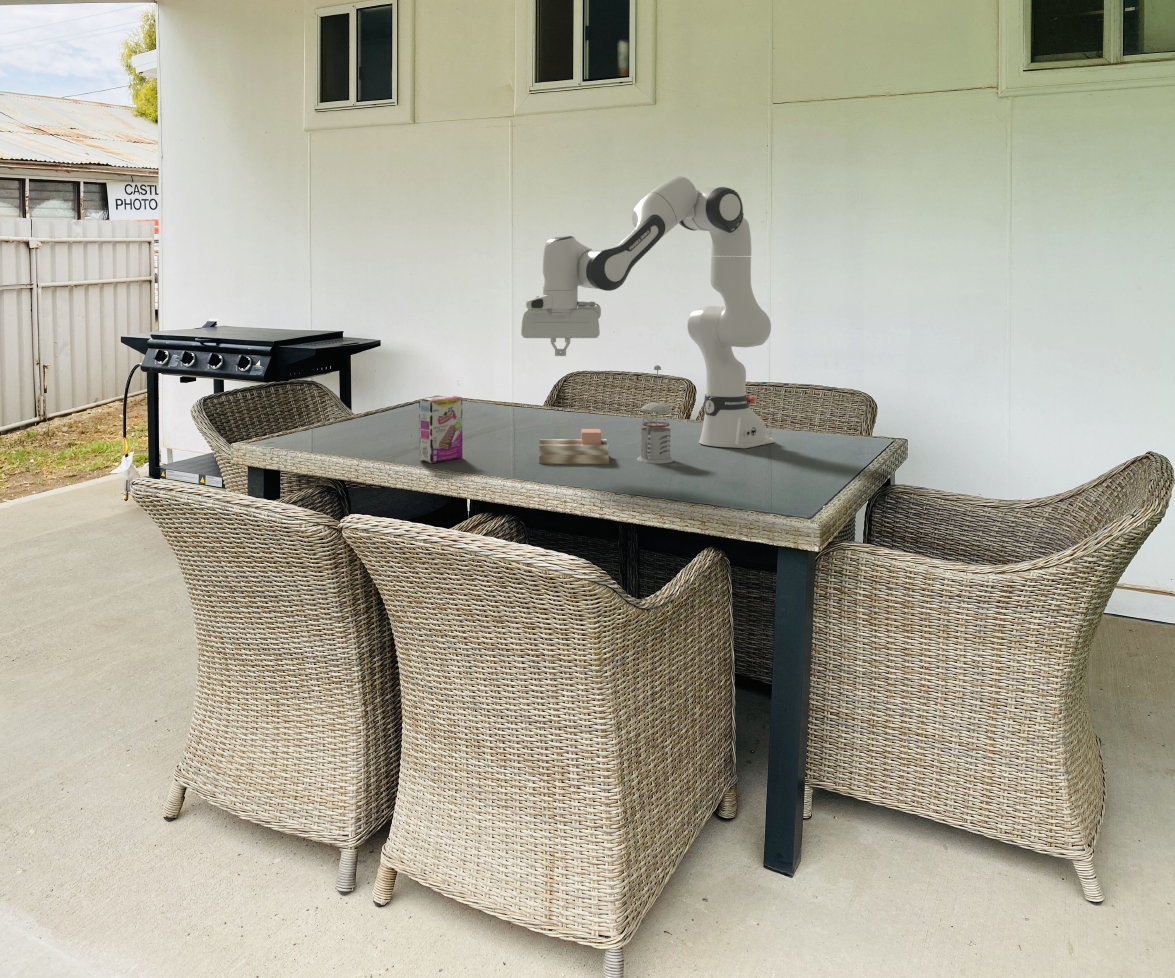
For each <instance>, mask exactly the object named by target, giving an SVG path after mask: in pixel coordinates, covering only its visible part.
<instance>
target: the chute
mask: <svg viewBox="0 0 1175 978" xmlns="http://www.w3.org/2000/svg"><path fill="white" fill-rule="evenodd" d="M538 441H539V447H538V448H539V449H538V452H539V454H538V460H539V461H538V462H539V464H542V465H543V464H544V465H545V464H555V465H556V464H563V465H564V464H565V465H566V464H568V465H569V464H576V465H577V464H580V465H581V464H590V465H591V464H592V465H593V464H594V465H597V464H603V465H604V464H605V465H607V464H608V465H609V463H610V460H609V459H610V455H609V453H610V452H609V448H610V447H609V444H608V439H607V438H603V439H602V438H601V445H581V438H579V439H578V438H575V439H573V438H563V439H562V438H557V439H555V438H554V439H553V438H549V439H548V438H547V439H544V438H540V439H539V440H538Z"/></svg>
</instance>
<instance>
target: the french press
mask: <svg viewBox="0 0 1175 978" xmlns="http://www.w3.org/2000/svg"><path fill="white" fill-rule="evenodd" d="M653 370H655V371H656V388H658V384H659V383H658V382H659V381H658V379H659V378H658V377H659V371H661V370H662V367H661V366H660V365H658V364H656V365H655V366H654V367H653ZM655 394H656V396H655V397H656V399H655V401H654V402H650V403H647V404H645V405H643V406H642V407H641V408H640V409H641V411H642V412H645V413H646V412H647V413H655V421H653V419H654V416H653V415H651V416H650V417H649V419H648V415H647V414H646V415H645V416H644V417H643V418H642V423H641V426H640V427H641V428H640V430H641V431H640V435H641V436H640V456H638V457H637V458H636V460H637V462H640V463H645V464H669V463H673V462H674V459H673V458H672V457H671V453H670V452H671V437H672V436H671V434H672V433H671V431H672V430H671V428H668V427H669V426H670V423H669V422H667V421H658V420H657V418H658V417H657V416H658V413H665V412H666V413H667V412H671V411H672V410H673V408H672V407H671V406H669V405H668V404H666V403H663V402H659V401H658V392H656V393H655ZM645 418H646V419H645ZM644 420H646V421H644ZM643 426H644V427H643ZM649 436H650V437H649Z"/></svg>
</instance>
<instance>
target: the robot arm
mask: <svg viewBox="0 0 1175 978" xmlns="http://www.w3.org/2000/svg"><path fill="white" fill-rule="evenodd" d="M631 221H632V224H633V227H634V229H633V230H632V231H631V232H630V233H629V234H628V235H627V236H626V237H625V238H624V239H623V240H621V242H619V244H617V245H616V246H614V247H611V248H606V249H592V248H591V247H588V246H586V245H584V244H583V243H581V242H580V241H578V240H577V239H576V238H575V236H572V235H565V236H557V237H552V238H550V239H548V240H547V241H546V243H545V245H544V249H543V255H542V256H543V258H542V274H543V278H544V283H543V287H542V290H543V291H542V295H537V296H535V297H532V298H529V299H528V300H526V302H525V307H526V310H525V311H524V313H523V316H522V320H521V329H520V330H521V331H520V333H521V334H520V335H521V336H522V337H523V339H550V344H551V346H552V348H553V350H554V357H567V350H568V347H569V346H570V344H571V339H598V337H599V336H600V332H601V331H600V321H599V319H600V318H601V316H602V308H601V306H600V305H599V304H598V303H596V302H595V301H578V292H579V291H578V288H579V286H580V287H582V288H585V289H597V290H598V289H599V290H602V291H607V292H611V291H614V290H617V289H619V288H620V287H621V286H622V285H623V284H624V283H625V282H626V280H627V278H628V276H629V274H630V272H631V270H632V269H633V268H634V266H635V265H636V264H637V263H638V262H639V261H640V260H641V259H643V257H644V256H645V255H646V254H647V253H648V252H649V251H650V250H652V249H653V247H654V246H655V245H656V244H657V243H658V242H659V241H660V240H661V238H663V237H664V236H665V235H666V234H668V233H669V232H670V231H671V230H672V229H674V228H675V227H676V226H677V225H678V224H679V225H680V226H681V227H683V228H684V229H687V230H689V231H702V232H703V231H705V232H706V231H707V232H709V234H710V238H711V241H712V242H711V243H712V244H711V251H710V252H711V253H710V254H711V257H710V278H709V279H710V285H711V287H712V288H713V289H714V290H715V291H716V292H718V293H719V294H720V295H721V297H722V298H723V302H724V306H716V305H715V306H712V305H709V306H704V307H700V308H697V309H694V310H693V311H692V312H691V313H690V315H689V318H688V320H687V325H686V327H687V328H686V329H687V332H688V335H689V337H690V339H691V340H692V341H694V343H695V344H696V345H697V346H698V349H700V352H701V354H702V356H703V359H704V363H705V369H706V370H705V371H706V391H705V392H706V393H705V394H704V404H703V406H704V416H703V423H702V429H701V434H700V438H699V441H698V443H699V444H700V445H701V444H702V445H704V446H710V447H718V448H735V449H737V448H738V449H748V448H755V447H759V446H761V445H762V446H763V445H767V444H772V443H774V442H775V440H774V438H772V437H771V436H767V426H766V424H765V421H764V420H763V418H761V417H760V416H759V415H758V414H756V413H755V412H754V411H753V410H752V409H751V408H750V404H756V402H757V398H756V396H752V395H749V396H747V394H746V380H747V370H746V367H745V365H744V364H743V363H742V362H741V361H739V360H738V359H737V358H736V357H735V355H734V351H733V347H734V348H735V347H736V348H754V347H758V346H759V347H760V346H762V345H764V344H765V343H766V342H767V340H768V339H769V337H770V335H771V331H772V323H771V320H770V317H769V316H768V314H767V312H765V311H764V310H763V309H762V308H761V306H760V305H759V304H758V302H757V300H756V297H755V295H754V293H753V288H752V273H751V271H752V270H751V269H752V267H751V266H752V236H751V230H750V228H751V227H750V224H749V220H747V219H746V218H745V217H744V207H743V202H742V199H741V196H740V194H739V193H738V192H737V191H736V190H734V189H732V188H729V187H726V186H725V187H724V186H720V187H705V188H701V189H697V188H696V187H695V184H693V182H692V181H691V180H690V179H688V178H686V177H684V176H683V175H682V176H674V177H672V178H670V179H668V180H667V181H664V182H663V183H661V184H659V185H658V186H657V187H655V188H654V189H652V190H651V191H650V192H649V193H647V194H646V195H645V196H644V197H643V198H641V199H640V200H639V202H638V203H637V204H636V205H635V207H633V210H632V214H631ZM557 339H564V343H565V345H564V346H563V348H558V347H557V345H556V344H555V343H557Z"/></svg>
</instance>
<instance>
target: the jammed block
mask: <svg viewBox="0 0 1175 978" xmlns="http://www.w3.org/2000/svg"><path fill="white" fill-rule="evenodd" d="M580 439H581V445H601V439H602V431H601V429H600V428H580Z"/></svg>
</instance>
